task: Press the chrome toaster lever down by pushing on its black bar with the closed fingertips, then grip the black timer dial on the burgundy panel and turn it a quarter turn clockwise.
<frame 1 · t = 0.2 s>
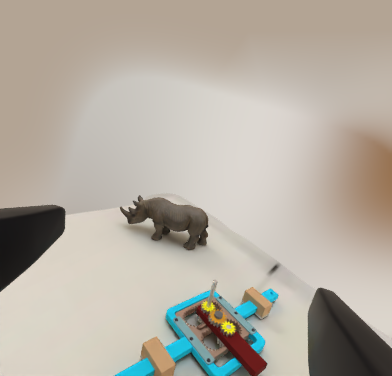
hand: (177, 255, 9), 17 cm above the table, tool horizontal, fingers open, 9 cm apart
rhino figurine: (161, 236, 41), on the table
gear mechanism: (217, 341, 26), on the table
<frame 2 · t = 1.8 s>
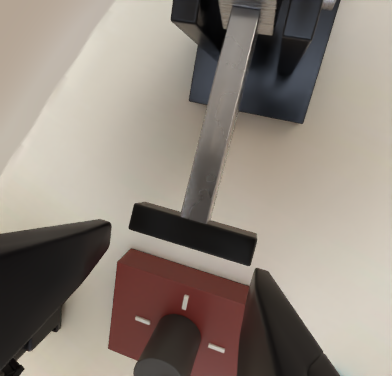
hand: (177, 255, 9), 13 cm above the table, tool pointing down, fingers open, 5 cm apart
toaster lever: (225, 98, 11), point 10 cm above the table, hinge at 15.0°
dial panel: (187, 313, 26), on the table
timer dial: (169, 356, 21), point 5 cm above the table, hinge at 0.0°
lever bracket: (262, 35, 18), on the table
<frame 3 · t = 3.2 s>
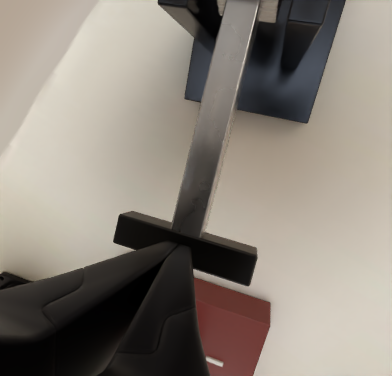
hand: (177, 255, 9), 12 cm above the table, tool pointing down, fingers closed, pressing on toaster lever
toaster lever: (222, 94, 9), point 10 cm above the table, hinge at 14.2°, touching gripper
dial panel: (183, 322, 25), on the table
lever bracket: (264, 28, 17), on the table
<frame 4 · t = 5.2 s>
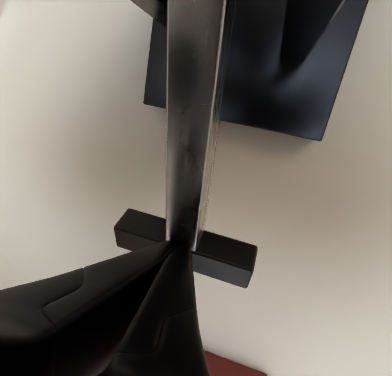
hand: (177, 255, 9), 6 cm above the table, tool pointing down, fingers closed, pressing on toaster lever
toaster lever: (195, 99, 6), point 7 cm above the table, hinge at -21.3°, touching gripper
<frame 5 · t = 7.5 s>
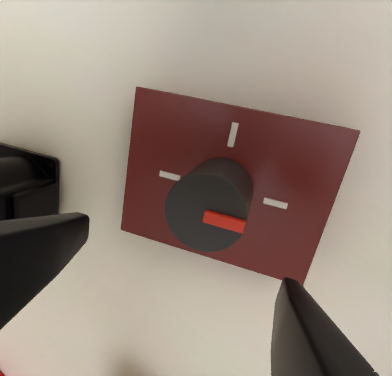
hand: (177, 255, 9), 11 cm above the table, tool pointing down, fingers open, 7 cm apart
dial panel: (226, 179, 19), on the table
timer dial: (213, 200, 15), point 5 cm above the table, hinge at 0.0°
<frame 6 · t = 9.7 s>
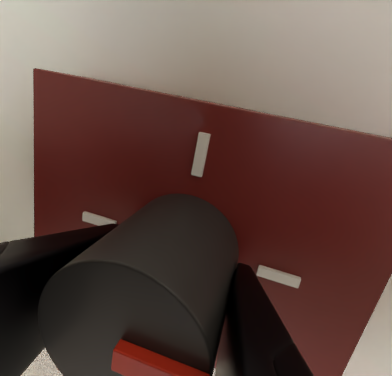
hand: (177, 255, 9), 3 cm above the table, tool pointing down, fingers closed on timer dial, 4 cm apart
dial panel: (200, 219, 12), on the table
timer dial: (157, 286, 8), point 5 cm above the table, hinge at 0.0°, touching gripper
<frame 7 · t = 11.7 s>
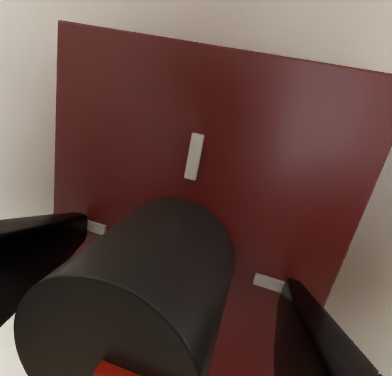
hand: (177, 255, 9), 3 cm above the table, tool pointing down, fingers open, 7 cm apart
dial panel: (195, 223, 12), on the table
timer dial: (146, 297, 7), point 5 cm above the table, hinge at -89.8°
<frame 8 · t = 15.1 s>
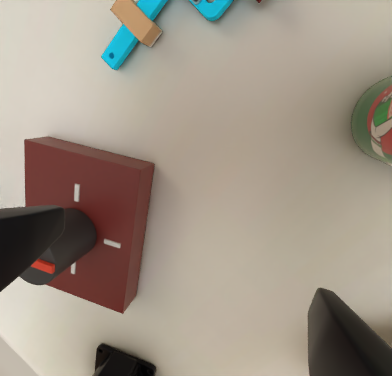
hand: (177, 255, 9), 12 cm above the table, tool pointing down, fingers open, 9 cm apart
dial panel: (94, 219, 25), on the table
timer dial: (53, 244, 20), point 5 cm above the table, hinge at -89.8°
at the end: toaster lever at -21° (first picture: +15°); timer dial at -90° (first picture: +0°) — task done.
